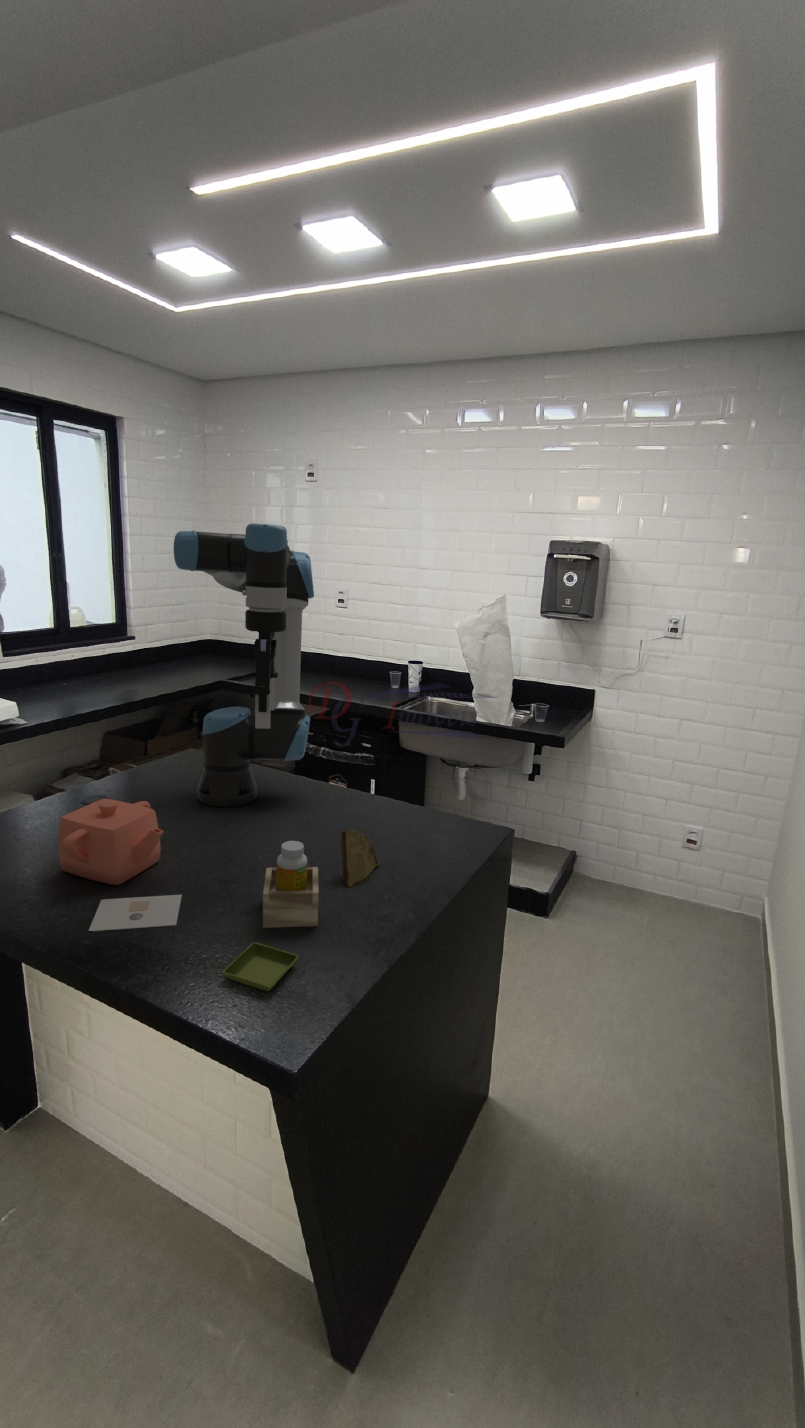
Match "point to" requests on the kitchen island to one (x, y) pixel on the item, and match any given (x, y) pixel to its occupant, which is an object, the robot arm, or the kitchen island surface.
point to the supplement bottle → (291, 867)
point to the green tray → (260, 966)
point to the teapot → (109, 840)
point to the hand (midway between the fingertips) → (265, 718)
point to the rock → (356, 857)
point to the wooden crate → (290, 902)
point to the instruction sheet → (136, 913)
